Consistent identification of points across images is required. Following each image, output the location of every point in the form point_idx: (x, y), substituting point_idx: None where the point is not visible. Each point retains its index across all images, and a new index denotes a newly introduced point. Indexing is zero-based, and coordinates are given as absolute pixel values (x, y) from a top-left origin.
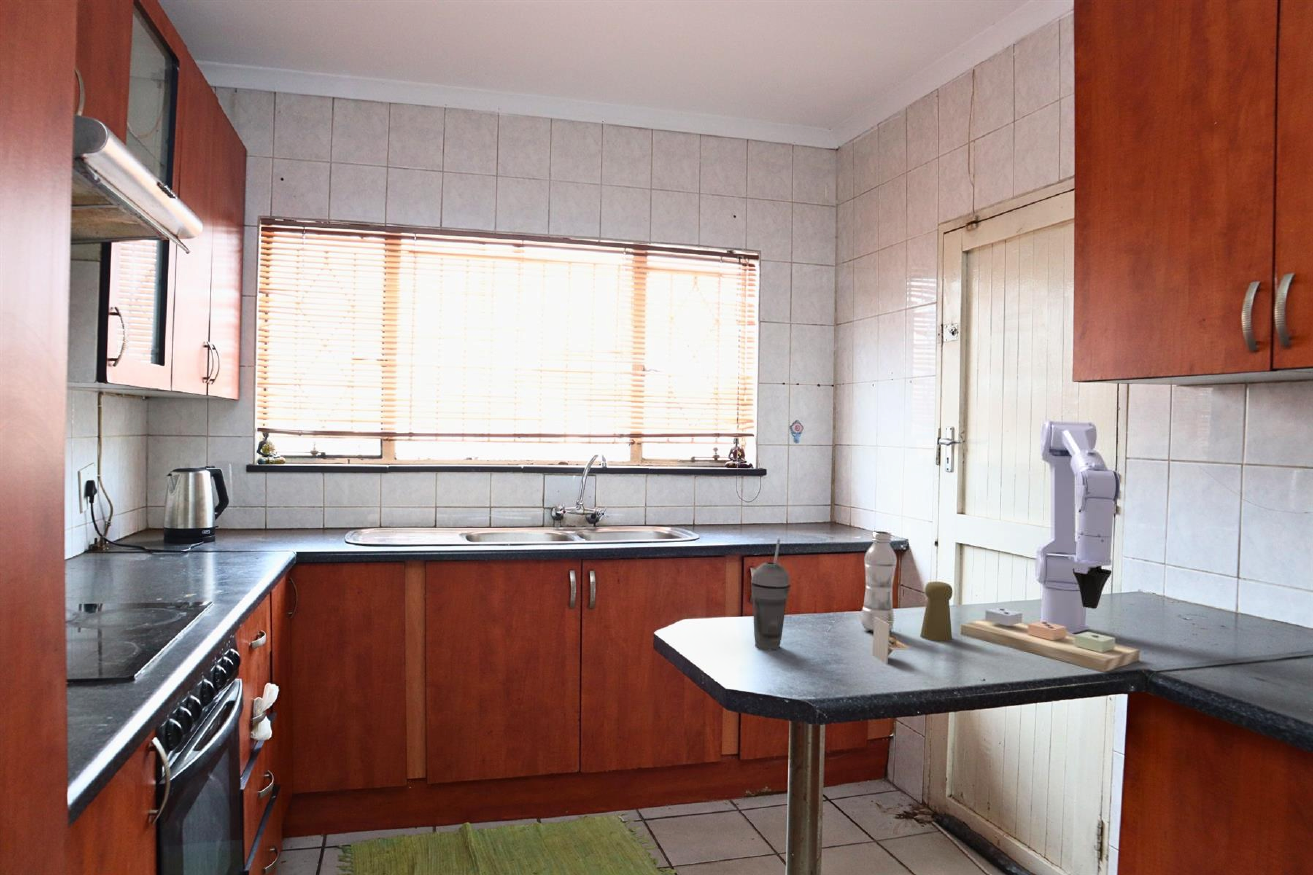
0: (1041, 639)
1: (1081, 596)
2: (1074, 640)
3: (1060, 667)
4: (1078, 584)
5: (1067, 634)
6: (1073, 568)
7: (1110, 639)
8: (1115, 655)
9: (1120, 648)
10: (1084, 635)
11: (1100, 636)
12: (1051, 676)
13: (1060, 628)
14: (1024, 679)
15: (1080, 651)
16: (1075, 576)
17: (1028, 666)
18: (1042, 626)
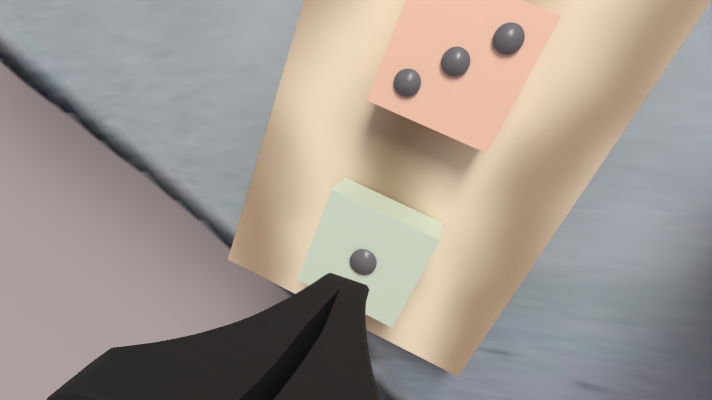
0: (378, 48)
1: (294, 294)
2: (456, 177)
3: (204, 132)
4: (231, 324)
5: (566, 147)
6: (66, 392)
7: None
8: None
9: (433, 322)
10: (353, 224)
11: (381, 280)
12: (100, 114)
13: (430, 127)
14: (21, 51)
15: (288, 196)
16: (145, 345)
17: (142, 41)
18: (410, 41)
